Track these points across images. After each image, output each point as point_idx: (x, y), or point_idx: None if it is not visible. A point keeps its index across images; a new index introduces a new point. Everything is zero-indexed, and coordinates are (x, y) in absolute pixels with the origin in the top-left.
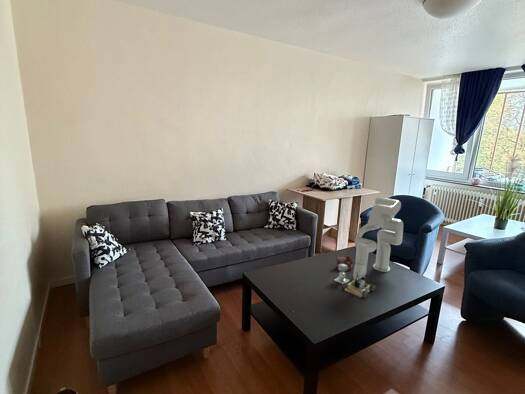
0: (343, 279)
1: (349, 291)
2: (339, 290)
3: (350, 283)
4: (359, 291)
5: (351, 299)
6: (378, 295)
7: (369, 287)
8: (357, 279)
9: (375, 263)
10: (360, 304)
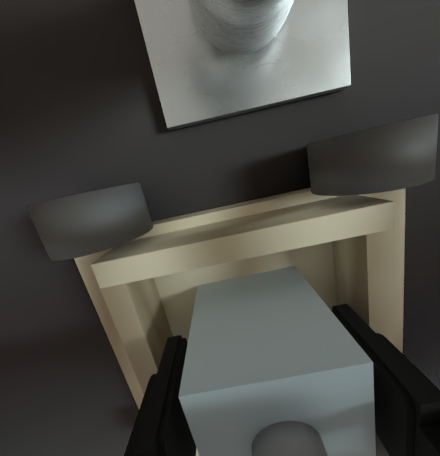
0: (226, 28)
1: (98, 302)
2: (14, 206)
3: (169, 265)
4: None
5: (37, 380)
6: None
7: None
8: (296, 397)
9: None
10: (65, 450)
